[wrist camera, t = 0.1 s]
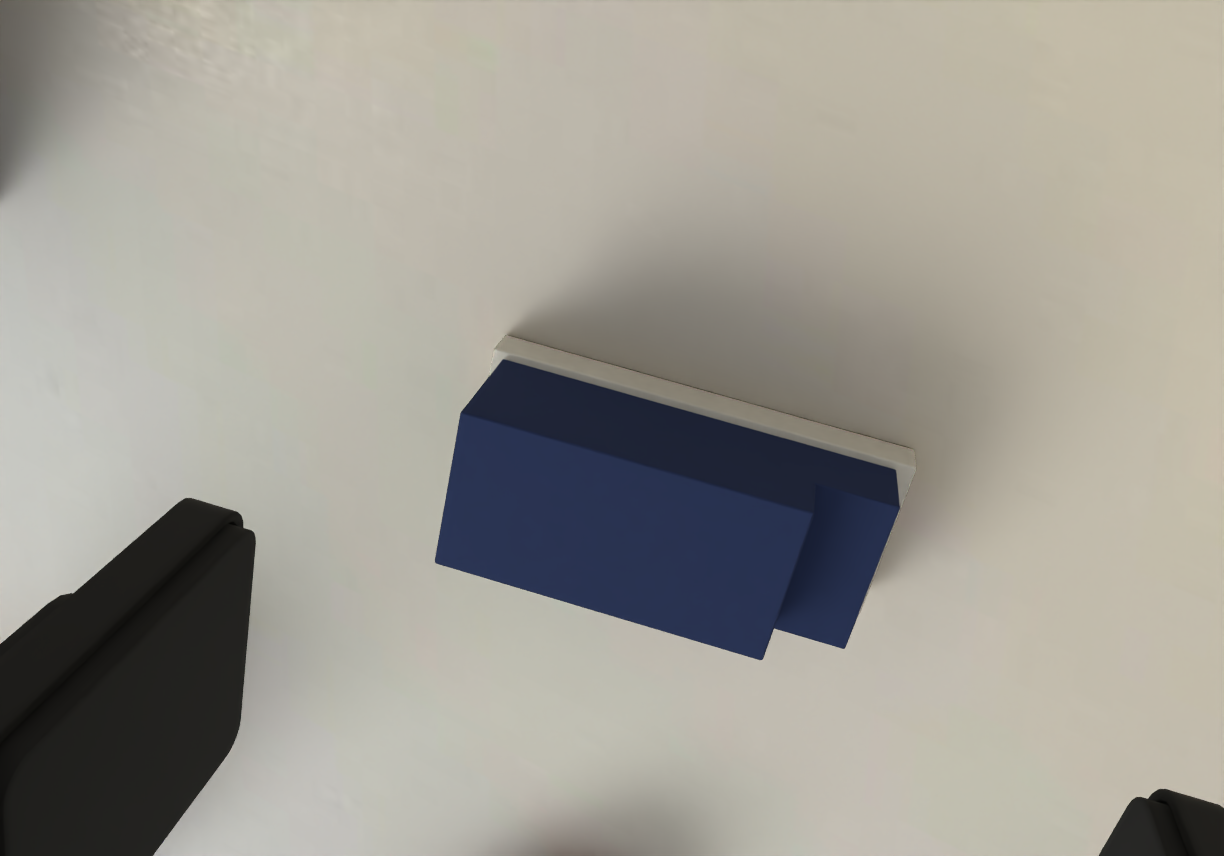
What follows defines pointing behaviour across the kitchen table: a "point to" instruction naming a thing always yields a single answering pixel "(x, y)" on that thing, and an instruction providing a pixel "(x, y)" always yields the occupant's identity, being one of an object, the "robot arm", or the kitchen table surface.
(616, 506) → the two-tone stepped block
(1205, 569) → the kitchen table surface
